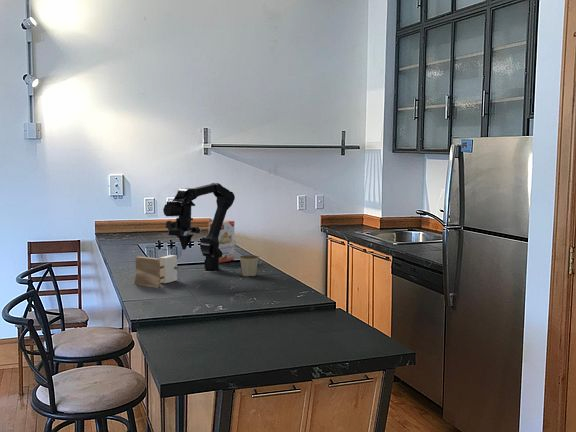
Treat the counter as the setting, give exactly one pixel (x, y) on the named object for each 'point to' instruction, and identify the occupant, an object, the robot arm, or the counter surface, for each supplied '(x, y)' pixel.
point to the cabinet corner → (148, 272)
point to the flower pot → (249, 264)
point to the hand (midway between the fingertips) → (183, 249)
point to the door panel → (168, 268)
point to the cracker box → (226, 240)
